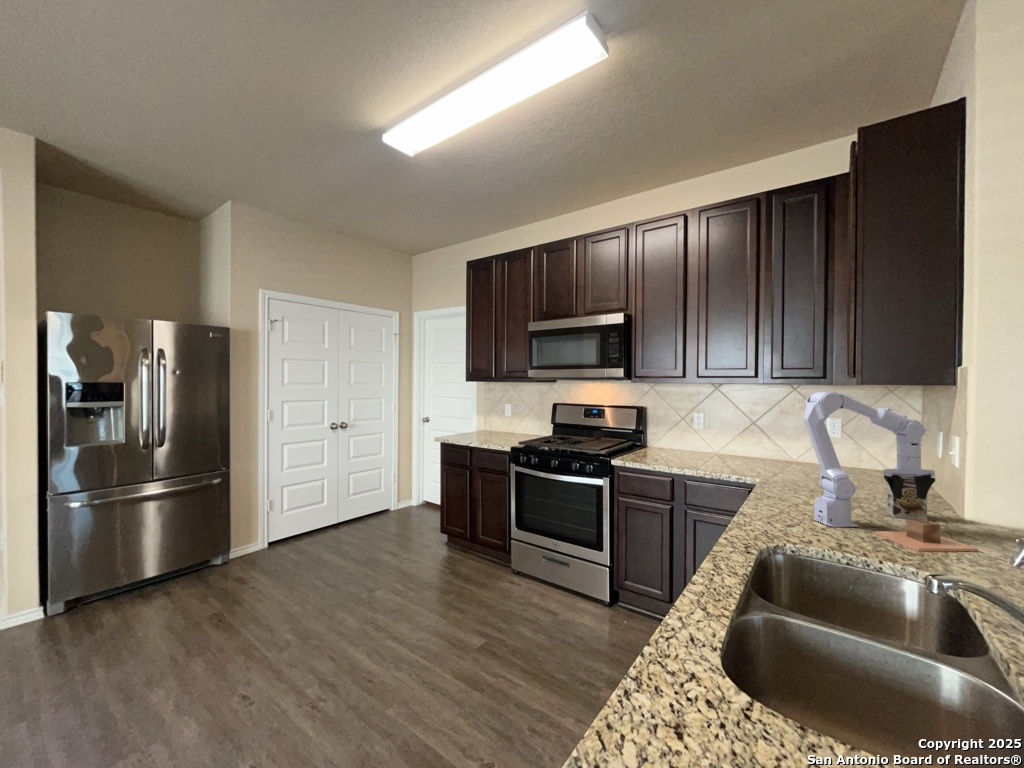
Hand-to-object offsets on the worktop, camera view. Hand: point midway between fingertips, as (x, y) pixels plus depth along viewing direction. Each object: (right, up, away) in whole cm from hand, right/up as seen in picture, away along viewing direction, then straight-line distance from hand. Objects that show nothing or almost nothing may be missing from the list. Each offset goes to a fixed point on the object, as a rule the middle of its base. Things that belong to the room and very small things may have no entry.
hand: (909, 498), depth 134 cm
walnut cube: (-8, -8, -13) cm, 17 cm away
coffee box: (+10, -10, +12) cm, 18 cm away
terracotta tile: (-8, -9, -13) cm, 18 cm away
